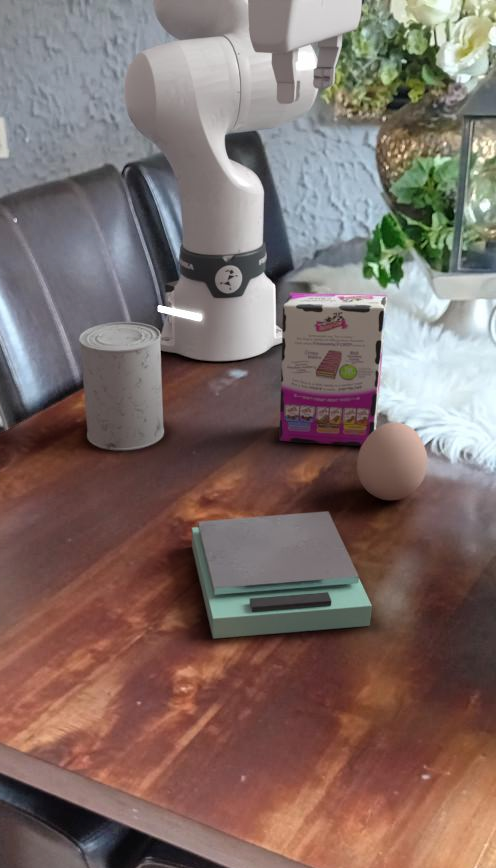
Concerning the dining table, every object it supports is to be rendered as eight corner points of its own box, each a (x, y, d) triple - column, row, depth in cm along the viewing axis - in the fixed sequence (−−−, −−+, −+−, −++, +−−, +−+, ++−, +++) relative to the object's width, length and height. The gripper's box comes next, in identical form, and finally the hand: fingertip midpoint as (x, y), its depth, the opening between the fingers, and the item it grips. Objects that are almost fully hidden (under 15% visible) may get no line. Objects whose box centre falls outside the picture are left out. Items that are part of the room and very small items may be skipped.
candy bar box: (376, 430, 121) (389, 293, 111) (372, 448, 117) (386, 308, 107) (283, 424, 124) (289, 289, 114) (277, 441, 120) (282, 304, 110)
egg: (429, 511, 105) (439, 437, 100) (360, 514, 105) (366, 440, 100) (414, 480, 110) (423, 408, 105) (349, 482, 111) (355, 411, 106)
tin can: (116, 458, 118) (109, 356, 111) (72, 432, 125) (63, 335, 118) (179, 434, 123) (177, 335, 116) (133, 411, 129) (128, 316, 122)
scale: (192, 546, 101) (191, 522, 100) (329, 535, 102) (330, 511, 100) (212, 638, 88) (212, 612, 87) (369, 626, 89) (372, 599, 87)
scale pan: (197, 528, 99) (197, 521, 99) (328, 518, 99) (328, 510, 99) (213, 595, 89) (213, 587, 89) (358, 583, 90) (358, 576, 89)
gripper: (322, -79, 100) (314, 79, 108) (235, -70, 86) (234, 110, 94) (384, -82, 97) (371, 80, 105) (305, -74, 83) (297, 112, 91)
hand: (306, 94), depth 100 cm, fingers open, 8 cm apart
